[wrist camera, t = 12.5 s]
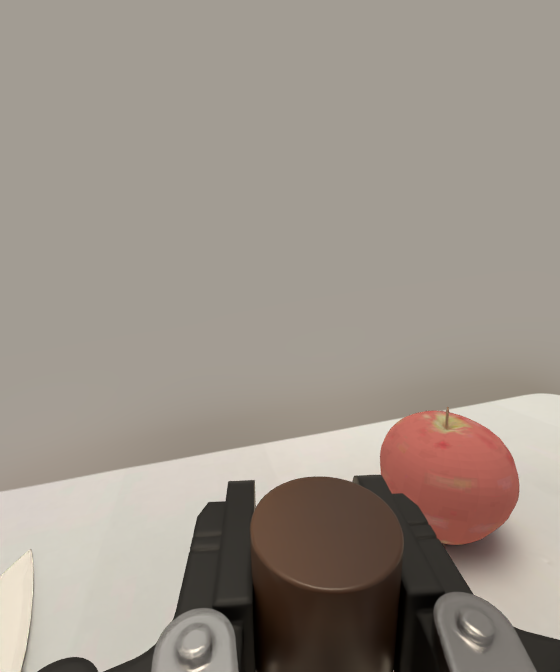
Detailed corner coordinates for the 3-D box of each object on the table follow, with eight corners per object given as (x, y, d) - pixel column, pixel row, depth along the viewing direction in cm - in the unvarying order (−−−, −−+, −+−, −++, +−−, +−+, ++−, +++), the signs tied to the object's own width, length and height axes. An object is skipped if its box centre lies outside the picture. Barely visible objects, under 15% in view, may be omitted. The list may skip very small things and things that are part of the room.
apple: (362, 490, 26) (368, 387, 24) (459, 485, 27) (472, 384, 25) (403, 582, 19) (416, 445, 17) (536, 573, 19) (562, 439, 17)
